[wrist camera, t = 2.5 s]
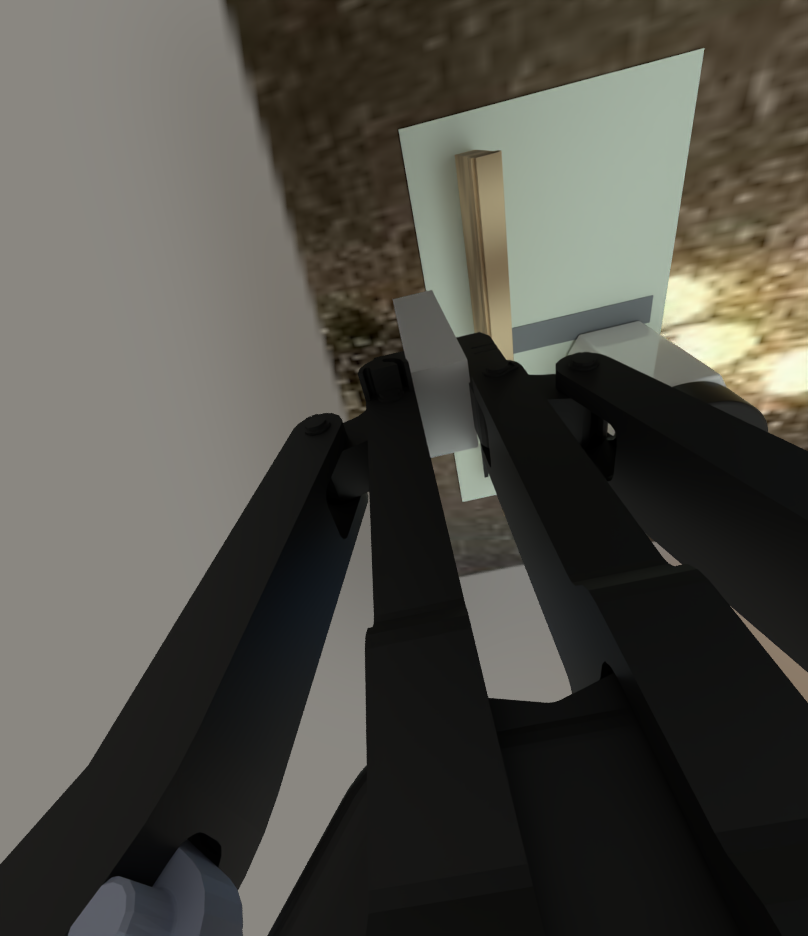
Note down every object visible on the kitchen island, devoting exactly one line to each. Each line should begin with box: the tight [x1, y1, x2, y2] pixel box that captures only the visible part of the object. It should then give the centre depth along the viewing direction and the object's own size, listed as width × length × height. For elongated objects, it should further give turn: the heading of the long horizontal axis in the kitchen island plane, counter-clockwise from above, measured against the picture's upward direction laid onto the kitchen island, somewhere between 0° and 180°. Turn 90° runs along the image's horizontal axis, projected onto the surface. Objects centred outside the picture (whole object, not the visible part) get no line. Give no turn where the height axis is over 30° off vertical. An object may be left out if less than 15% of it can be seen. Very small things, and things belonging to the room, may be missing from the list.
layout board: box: [398, 48, 704, 502], centre depth 33 cm, size 29×17×1 cm, turn 12°
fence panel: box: [455, 150, 514, 361], centre depth 26 cm, size 11×2×6 cm, turn 12°
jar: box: [567, 321, 768, 437], centre depth 30 cm, size 9×8×12 cm
